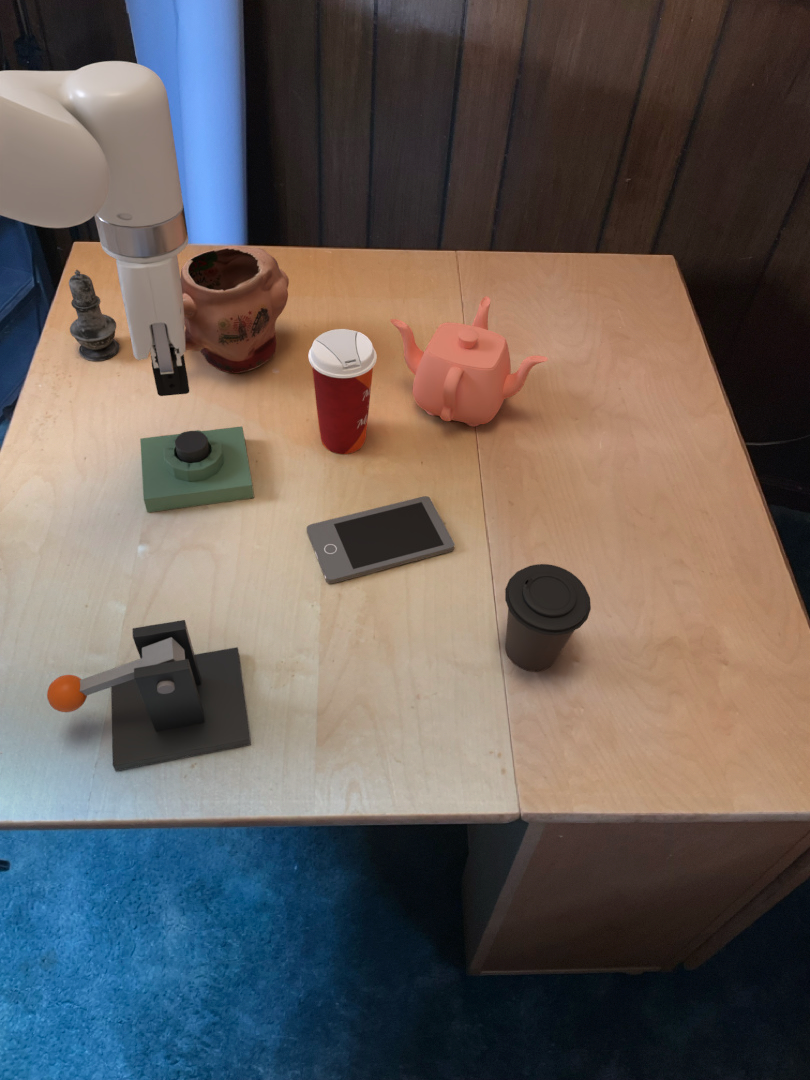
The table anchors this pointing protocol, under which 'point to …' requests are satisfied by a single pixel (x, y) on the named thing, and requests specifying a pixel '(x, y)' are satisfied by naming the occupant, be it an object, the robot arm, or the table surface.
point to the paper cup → (342, 387)
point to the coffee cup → (543, 614)
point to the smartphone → (379, 539)
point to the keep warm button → (192, 446)
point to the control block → (195, 471)
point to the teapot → (463, 370)
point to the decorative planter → (233, 306)
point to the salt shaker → (91, 322)
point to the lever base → (178, 703)
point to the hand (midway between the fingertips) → (173, 389)
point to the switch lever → (108, 676)
